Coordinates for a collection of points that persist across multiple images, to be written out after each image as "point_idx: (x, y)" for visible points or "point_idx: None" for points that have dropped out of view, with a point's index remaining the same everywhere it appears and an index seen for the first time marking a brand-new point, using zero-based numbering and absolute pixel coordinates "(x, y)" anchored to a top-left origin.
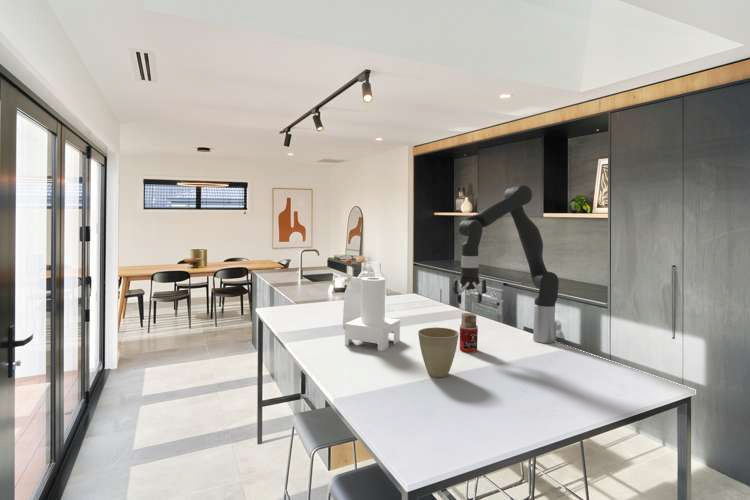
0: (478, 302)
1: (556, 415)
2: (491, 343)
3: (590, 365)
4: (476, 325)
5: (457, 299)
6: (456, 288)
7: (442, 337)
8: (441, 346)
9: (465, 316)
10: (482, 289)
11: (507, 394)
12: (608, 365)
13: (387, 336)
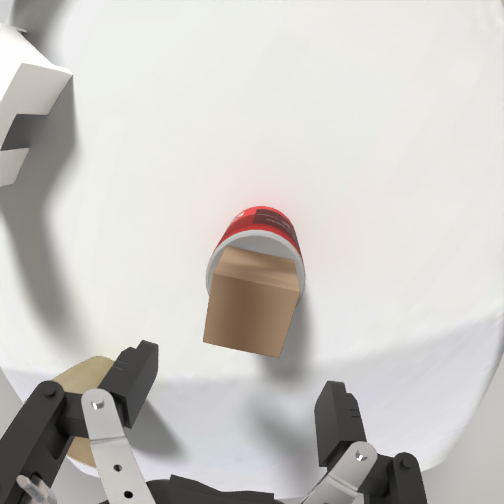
0: (319, 400)
1: (233, 490)
2: (398, 189)
3: (450, 402)
4: (300, 290)
5: (118, 367)
6: (54, 460)
7: (76, 460)
8: (82, 444)
9: (207, 340)
10: (392, 485)
11: (204, 458)
12: (471, 402)
13: (2, 156)
